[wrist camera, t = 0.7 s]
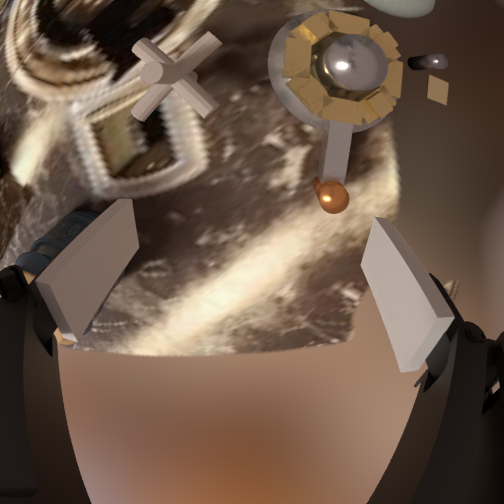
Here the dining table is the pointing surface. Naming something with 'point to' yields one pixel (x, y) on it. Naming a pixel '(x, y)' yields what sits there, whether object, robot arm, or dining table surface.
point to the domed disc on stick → (336, 109)
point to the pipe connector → (174, 76)
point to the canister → (51, 246)
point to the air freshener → (404, 7)
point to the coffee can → (3, 5)
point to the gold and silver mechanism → (345, 70)
